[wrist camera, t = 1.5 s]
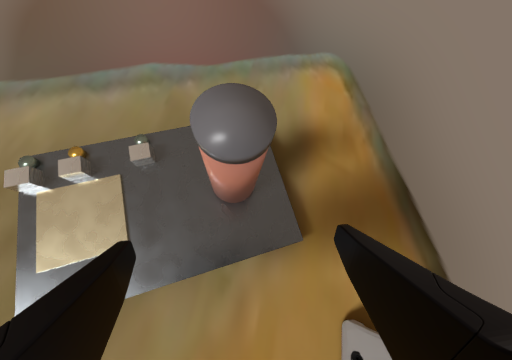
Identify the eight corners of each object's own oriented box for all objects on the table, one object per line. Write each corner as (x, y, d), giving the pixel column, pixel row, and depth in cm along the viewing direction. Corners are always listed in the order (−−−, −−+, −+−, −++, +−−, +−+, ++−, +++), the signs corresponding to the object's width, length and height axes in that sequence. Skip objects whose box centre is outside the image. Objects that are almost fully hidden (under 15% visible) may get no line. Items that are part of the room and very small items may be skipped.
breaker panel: (298, 240, 21) (308, 239, 19) (32, 327, 17) (-7, 342, 14) (257, 120, 25) (260, 105, 23) (34, 164, 21) (4, 151, 18)
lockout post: (245, 210, 20) (259, 170, 10) (203, 193, 20) (173, 137, 10) (261, 171, 22) (287, 100, 11) (222, 155, 22) (212, 72, 11)
